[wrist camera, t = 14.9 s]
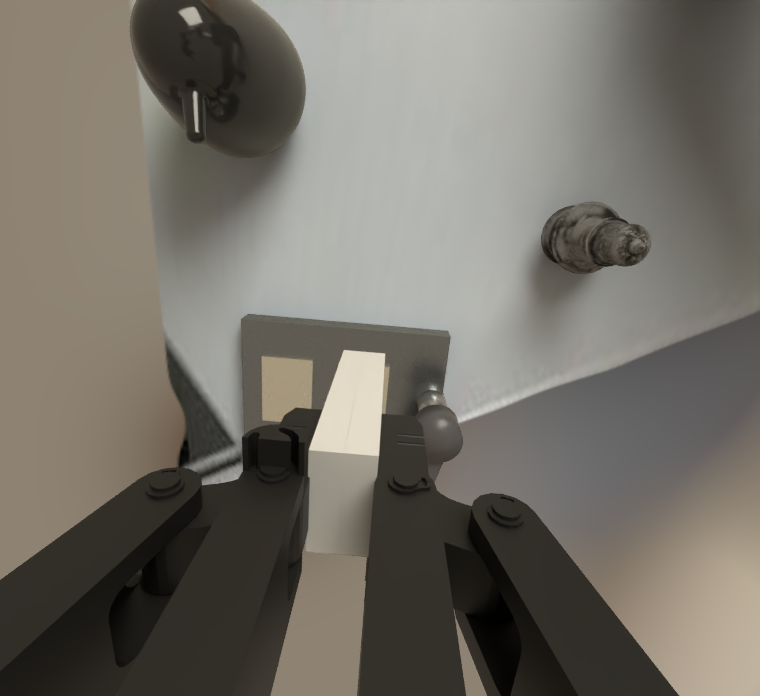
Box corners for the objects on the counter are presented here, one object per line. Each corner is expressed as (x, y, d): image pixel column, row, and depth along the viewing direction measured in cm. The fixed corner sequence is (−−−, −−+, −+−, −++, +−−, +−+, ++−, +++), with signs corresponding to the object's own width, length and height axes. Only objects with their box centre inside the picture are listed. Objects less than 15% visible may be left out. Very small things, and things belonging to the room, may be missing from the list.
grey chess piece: (528, 259, 40) (583, 280, 28) (552, 194, 38) (620, 189, 26) (588, 275, 40) (665, 302, 28) (614, 211, 38) (708, 213, 27)
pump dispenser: (211, 171, 38) (99, 150, 24) (182, 35, 35) (32, -86, 20) (322, 158, 37) (277, 128, 23) (304, 18, 34) (238, -119, 20)
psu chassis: (451, 331, 42) (461, 351, 36) (434, 452, 46) (440, 488, 41) (248, 314, 42) (224, 331, 36) (250, 437, 47) (230, 470, 41)
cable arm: (420, 387, 40) (424, 414, 34) (460, 399, 40) (470, 428, 35) (361, 540, 46) (356, 583, 40) (396, 550, 46) (396, 594, 41)
